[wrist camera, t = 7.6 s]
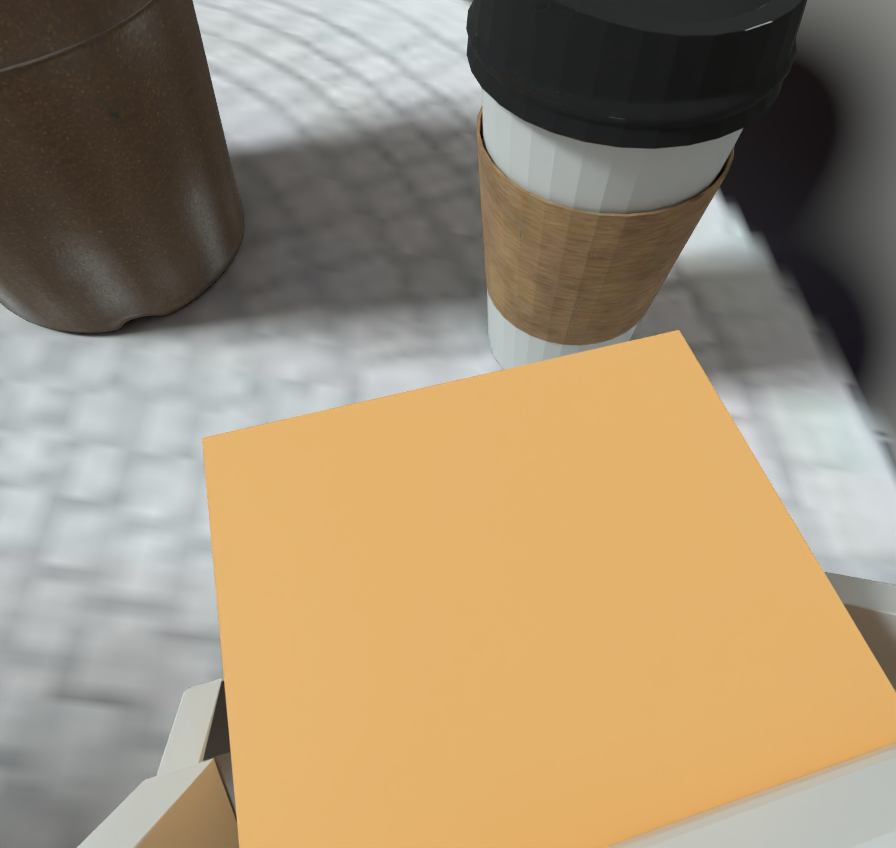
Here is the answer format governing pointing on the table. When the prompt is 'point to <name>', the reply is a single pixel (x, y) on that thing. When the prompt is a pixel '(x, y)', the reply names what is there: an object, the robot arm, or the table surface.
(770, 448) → the table surface
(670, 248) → the coffee cup
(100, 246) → the plant pot
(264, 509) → the tall orange pillar
